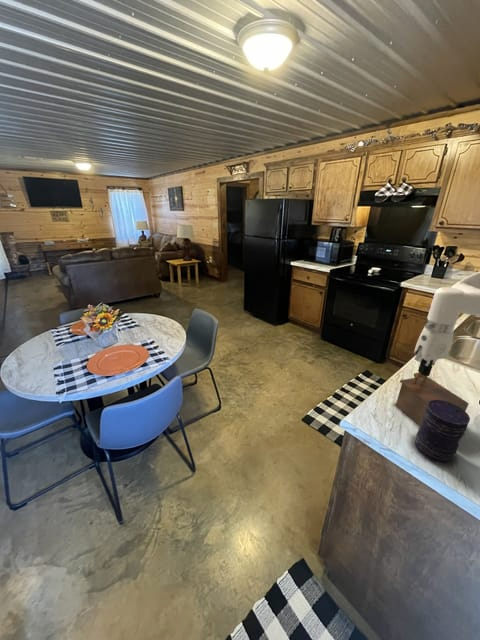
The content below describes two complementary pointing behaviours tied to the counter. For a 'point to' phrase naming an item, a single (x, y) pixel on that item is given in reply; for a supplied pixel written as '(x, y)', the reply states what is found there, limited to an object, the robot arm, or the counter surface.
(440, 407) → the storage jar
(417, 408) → the chest
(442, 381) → the counter surface
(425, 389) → the lid
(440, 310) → the robot arm
